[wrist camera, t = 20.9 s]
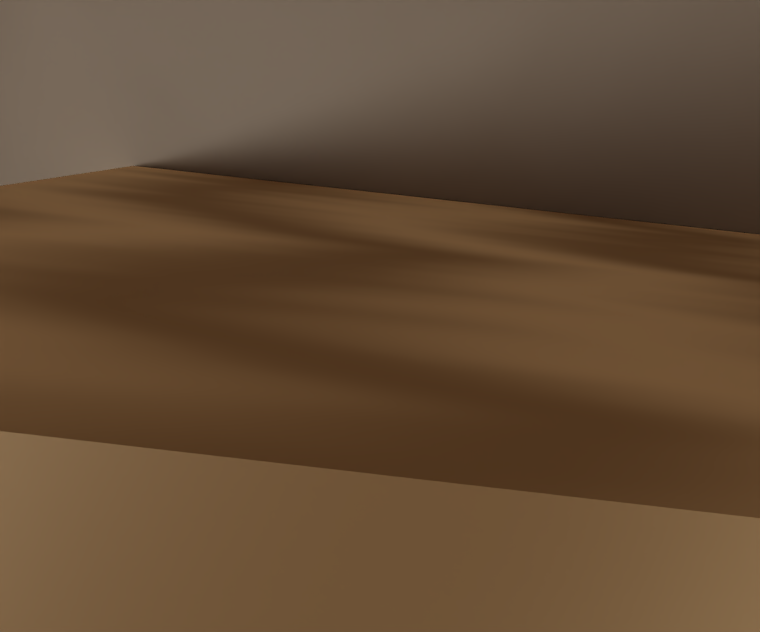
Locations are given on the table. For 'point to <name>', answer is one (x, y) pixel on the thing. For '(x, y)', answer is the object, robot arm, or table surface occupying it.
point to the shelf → (370, 413)
